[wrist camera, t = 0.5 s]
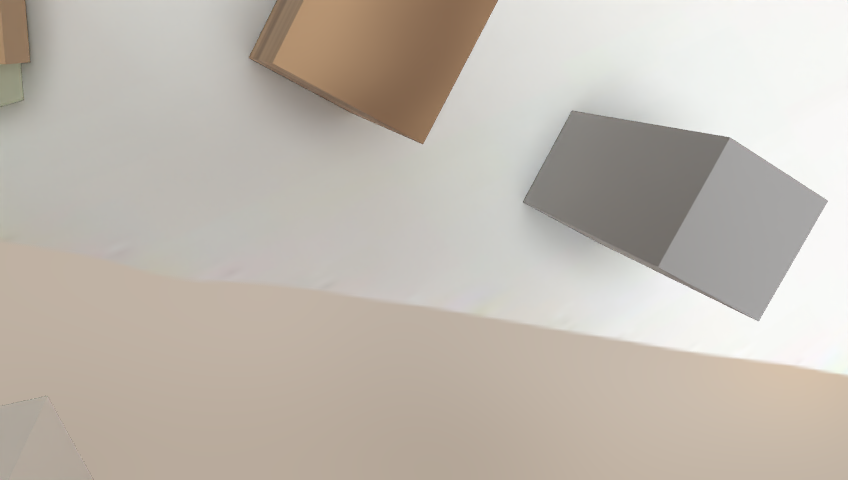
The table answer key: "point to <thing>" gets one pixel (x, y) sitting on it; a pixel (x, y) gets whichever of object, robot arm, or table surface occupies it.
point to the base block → (12, 50)
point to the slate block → (679, 205)
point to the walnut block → (375, 54)
